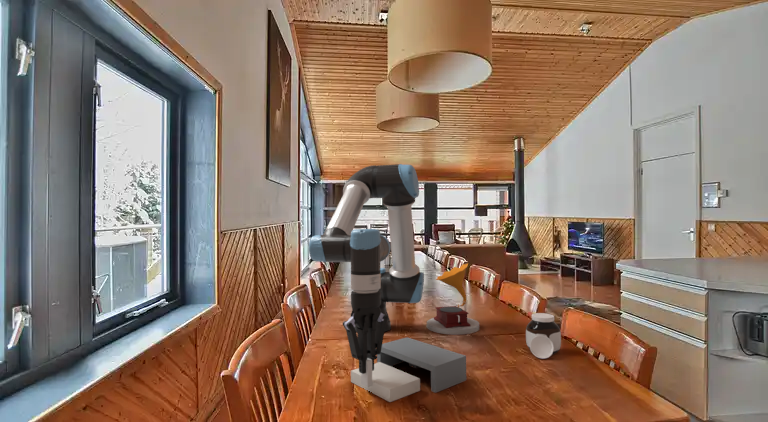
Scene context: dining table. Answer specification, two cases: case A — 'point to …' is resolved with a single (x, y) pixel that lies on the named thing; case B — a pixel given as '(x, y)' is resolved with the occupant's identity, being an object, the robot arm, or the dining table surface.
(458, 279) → the gramophone
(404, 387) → the pale grey flat slab
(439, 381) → the low overhang
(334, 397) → the dining table surface
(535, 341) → the spread jar
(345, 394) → the dining table surface
